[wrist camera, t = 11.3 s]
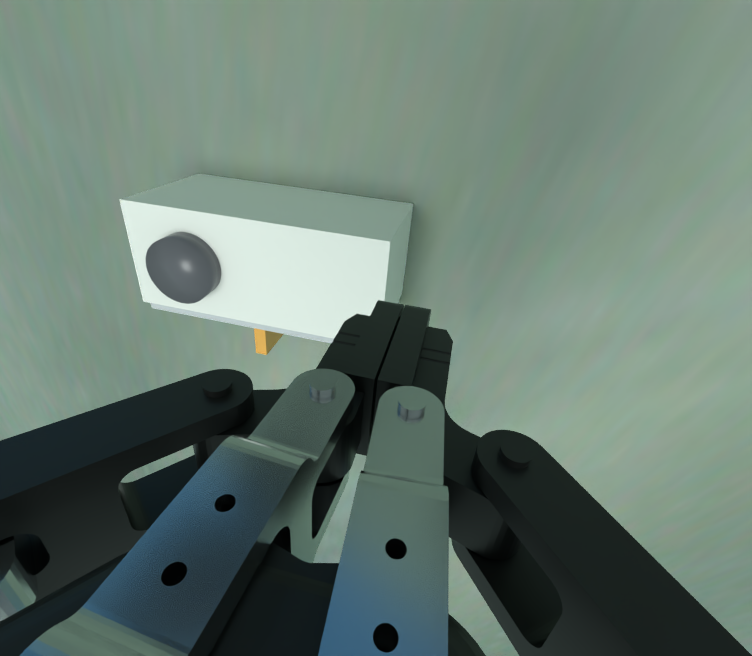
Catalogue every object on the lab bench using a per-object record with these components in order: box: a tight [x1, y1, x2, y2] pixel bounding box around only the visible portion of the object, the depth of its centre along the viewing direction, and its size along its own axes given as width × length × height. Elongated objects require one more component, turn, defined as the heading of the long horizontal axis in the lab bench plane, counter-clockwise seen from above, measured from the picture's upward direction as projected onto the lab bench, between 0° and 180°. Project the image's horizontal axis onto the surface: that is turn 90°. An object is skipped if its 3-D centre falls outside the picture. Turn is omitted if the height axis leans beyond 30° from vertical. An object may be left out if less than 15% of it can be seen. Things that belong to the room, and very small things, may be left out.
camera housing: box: [119, 173, 413, 343], centre depth 42 cm, size 11×24×14 cm, turn 85°
